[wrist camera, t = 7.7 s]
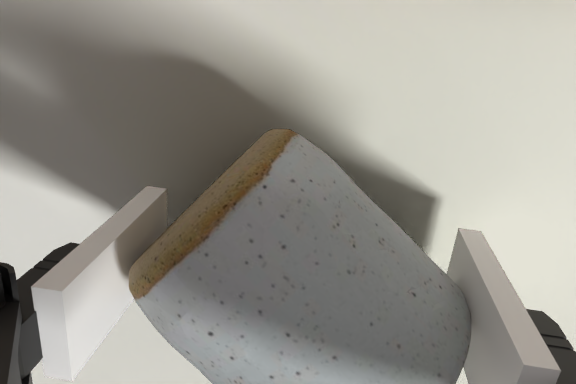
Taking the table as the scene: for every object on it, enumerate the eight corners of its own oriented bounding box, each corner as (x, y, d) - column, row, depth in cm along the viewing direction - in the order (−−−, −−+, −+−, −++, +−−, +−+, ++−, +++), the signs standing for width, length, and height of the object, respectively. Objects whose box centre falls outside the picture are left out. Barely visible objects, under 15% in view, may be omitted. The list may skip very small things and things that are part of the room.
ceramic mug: (295, 88, 16) (243, 158, 9) (451, 245, 17) (513, 413, 10) (124, 264, 20) (-5, 409, 13) (263, 381, 21) (214, 570, 14)
